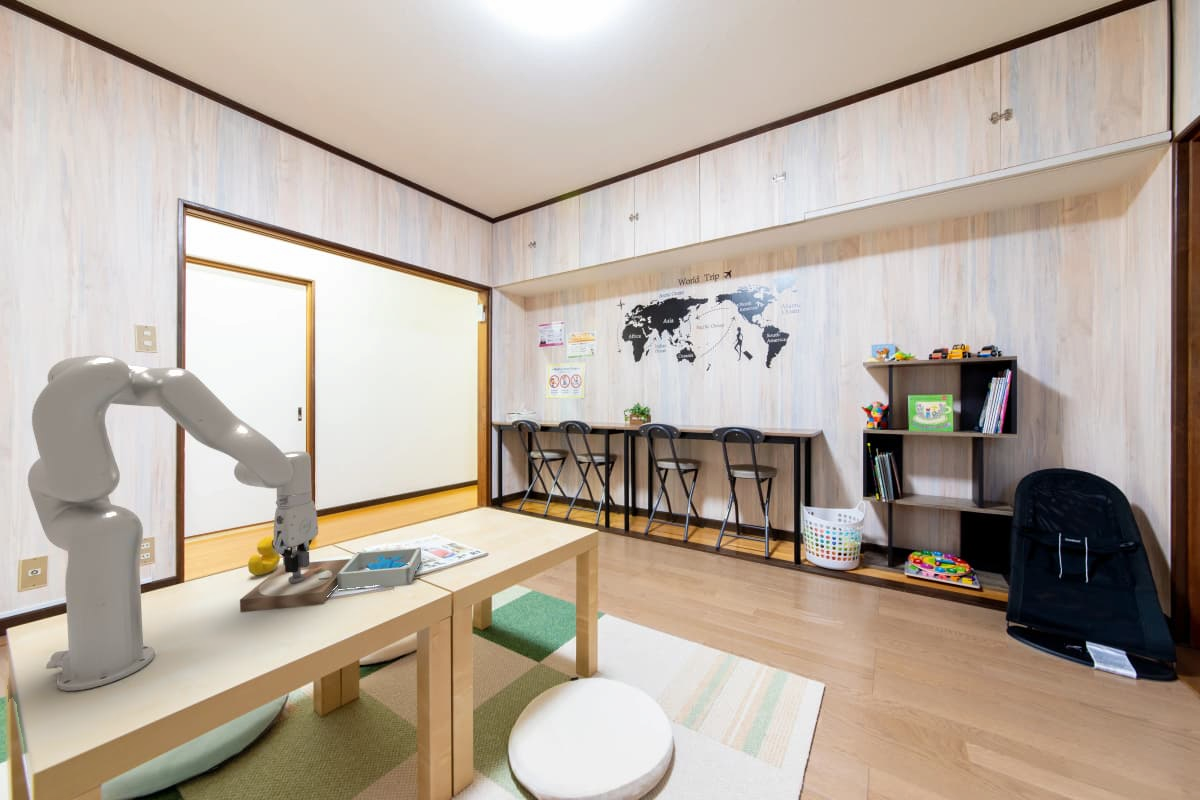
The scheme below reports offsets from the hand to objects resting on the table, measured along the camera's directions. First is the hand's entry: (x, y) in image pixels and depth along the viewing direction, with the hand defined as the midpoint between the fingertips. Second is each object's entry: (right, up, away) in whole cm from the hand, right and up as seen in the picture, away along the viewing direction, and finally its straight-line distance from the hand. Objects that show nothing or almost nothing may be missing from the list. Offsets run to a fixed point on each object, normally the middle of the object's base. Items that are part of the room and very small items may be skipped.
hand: (296, 568), depth 118 cm
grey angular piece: (+1, -3, +3) cm, 4 cm away
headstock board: (-1, -6, +3) cm, 7 cm away
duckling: (-18, -6, +14) cm, 24 cm away
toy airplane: (+17, -6, +11) cm, 21 cm away
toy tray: (+17, -6, +11) cm, 21 cm away
